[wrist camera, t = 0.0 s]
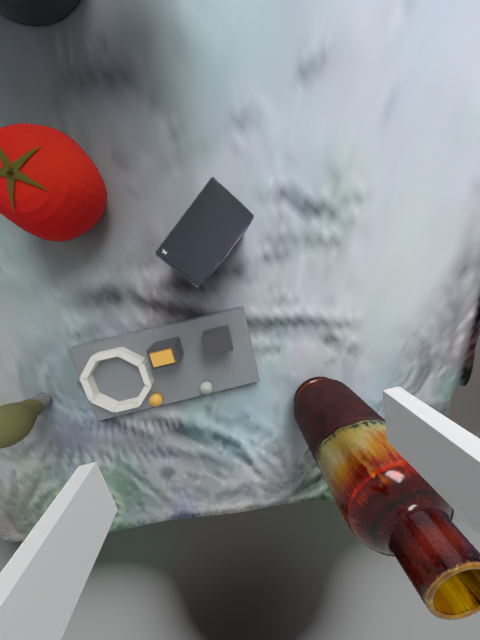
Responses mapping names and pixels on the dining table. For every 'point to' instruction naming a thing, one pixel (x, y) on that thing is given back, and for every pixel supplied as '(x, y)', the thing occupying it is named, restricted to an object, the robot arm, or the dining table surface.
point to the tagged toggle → (165, 353)
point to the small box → (205, 233)
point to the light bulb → (20, 418)
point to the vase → (388, 498)
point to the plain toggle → (217, 340)
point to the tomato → (48, 183)
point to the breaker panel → (168, 382)
